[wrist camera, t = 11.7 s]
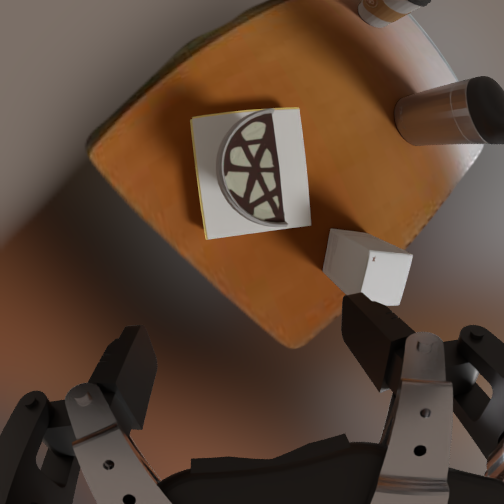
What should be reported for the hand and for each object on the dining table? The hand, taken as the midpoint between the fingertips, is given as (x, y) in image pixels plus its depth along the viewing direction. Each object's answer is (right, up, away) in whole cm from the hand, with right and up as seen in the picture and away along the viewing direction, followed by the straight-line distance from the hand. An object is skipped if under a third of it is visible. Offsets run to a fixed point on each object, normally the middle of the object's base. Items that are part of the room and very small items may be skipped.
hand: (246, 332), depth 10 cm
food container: (-1, +13, +24) cm, 27 cm away
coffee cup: (+22, +47, +21) cm, 56 cm away
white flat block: (0, +14, +27) cm, 31 cm away
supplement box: (+15, +3, +33) cm, 36 cm away
